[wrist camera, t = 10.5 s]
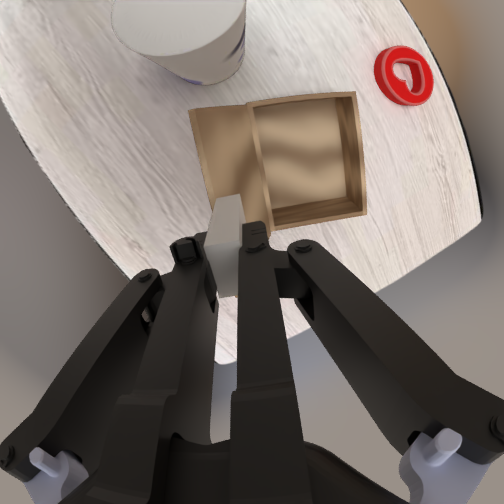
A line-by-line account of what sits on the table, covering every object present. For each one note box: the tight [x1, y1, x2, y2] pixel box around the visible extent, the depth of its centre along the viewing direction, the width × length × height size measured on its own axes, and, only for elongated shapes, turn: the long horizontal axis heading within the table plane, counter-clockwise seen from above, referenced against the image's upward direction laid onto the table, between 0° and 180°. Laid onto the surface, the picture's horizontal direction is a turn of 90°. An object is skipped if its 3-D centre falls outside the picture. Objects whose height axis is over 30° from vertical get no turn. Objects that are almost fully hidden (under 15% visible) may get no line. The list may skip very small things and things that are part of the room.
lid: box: [188, 105, 271, 298], centre depth 25 cm, size 15×12×1 cm
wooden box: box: [246, 91, 367, 231], centre depth 34 cm, size 16×13×7 cm
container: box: [111, 0, 246, 85], centre depth 21 cm, size 10×10×20 cm
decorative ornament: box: [374, 46, 434, 106], centre depth 30 cm, size 10×10×3 cm
